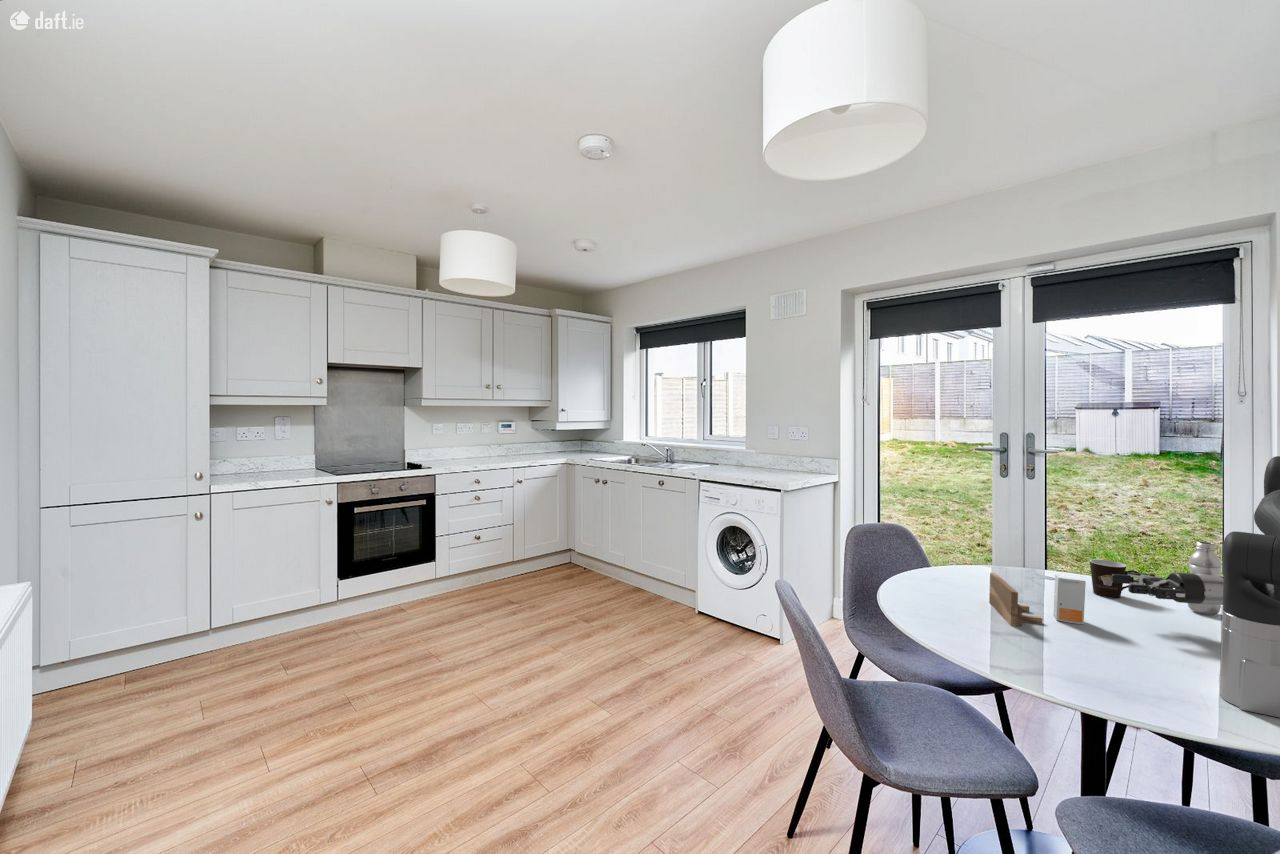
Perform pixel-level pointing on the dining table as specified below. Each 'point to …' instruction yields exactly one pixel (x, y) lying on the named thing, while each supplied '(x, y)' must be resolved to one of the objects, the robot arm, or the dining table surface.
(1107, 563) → the coffee mug
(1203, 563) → the plastic bottle
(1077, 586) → the skincare box
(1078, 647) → the dining table surface
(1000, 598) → the wooden stand
